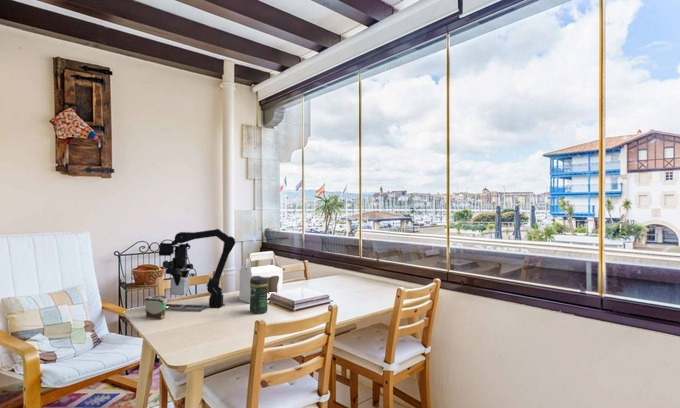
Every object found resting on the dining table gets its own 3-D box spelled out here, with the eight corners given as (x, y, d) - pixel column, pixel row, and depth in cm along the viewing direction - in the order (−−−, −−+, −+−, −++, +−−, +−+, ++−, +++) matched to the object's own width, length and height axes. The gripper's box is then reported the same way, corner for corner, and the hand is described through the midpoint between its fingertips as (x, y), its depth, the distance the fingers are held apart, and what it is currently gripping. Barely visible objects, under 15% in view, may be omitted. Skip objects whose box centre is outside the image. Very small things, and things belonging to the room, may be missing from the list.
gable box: (250, 304, 206) (251, 254, 206) (238, 299, 215) (239, 252, 215) (282, 297, 222) (283, 251, 222) (270, 293, 231) (270, 249, 231)
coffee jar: (269, 312, 190) (270, 276, 190) (256, 315, 185) (256, 278, 185) (260, 308, 197) (261, 274, 197) (247, 311, 192) (247, 275, 192)
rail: (207, 307, 198) (207, 305, 198) (200, 311, 190) (200, 309, 190) (164, 306, 200) (164, 303, 200) (156, 310, 192) (156, 307, 192)
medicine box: (188, 293, 196) (188, 277, 197) (184, 295, 192) (184, 279, 192) (174, 293, 197) (174, 277, 197) (169, 294, 193) (170, 278, 193)
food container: (173, 316, 181) (173, 296, 181) (163, 320, 175) (163, 299, 175) (153, 313, 185) (154, 294, 185) (143, 317, 179) (144, 297, 179)
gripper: (175, 253, 205) (174, 280, 204) (156, 257, 186) (154, 287, 186) (194, 253, 204) (193, 281, 204) (177, 258, 185) (175, 288, 185)
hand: (179, 284), depth 195 cm, fingers closed on medicine box, 4 cm apart
